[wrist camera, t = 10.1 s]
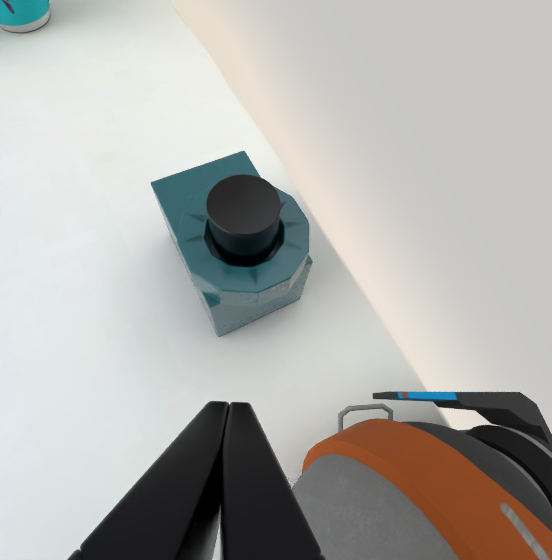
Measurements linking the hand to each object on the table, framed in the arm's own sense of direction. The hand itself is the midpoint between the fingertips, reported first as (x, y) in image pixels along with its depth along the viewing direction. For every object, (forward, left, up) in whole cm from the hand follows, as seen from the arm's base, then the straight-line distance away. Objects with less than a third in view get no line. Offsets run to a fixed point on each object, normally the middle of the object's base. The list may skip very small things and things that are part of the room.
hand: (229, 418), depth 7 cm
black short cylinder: (+6, +5, -6) cm, 10 cm away
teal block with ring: (+7, +7, -13) cm, 16 cm away
